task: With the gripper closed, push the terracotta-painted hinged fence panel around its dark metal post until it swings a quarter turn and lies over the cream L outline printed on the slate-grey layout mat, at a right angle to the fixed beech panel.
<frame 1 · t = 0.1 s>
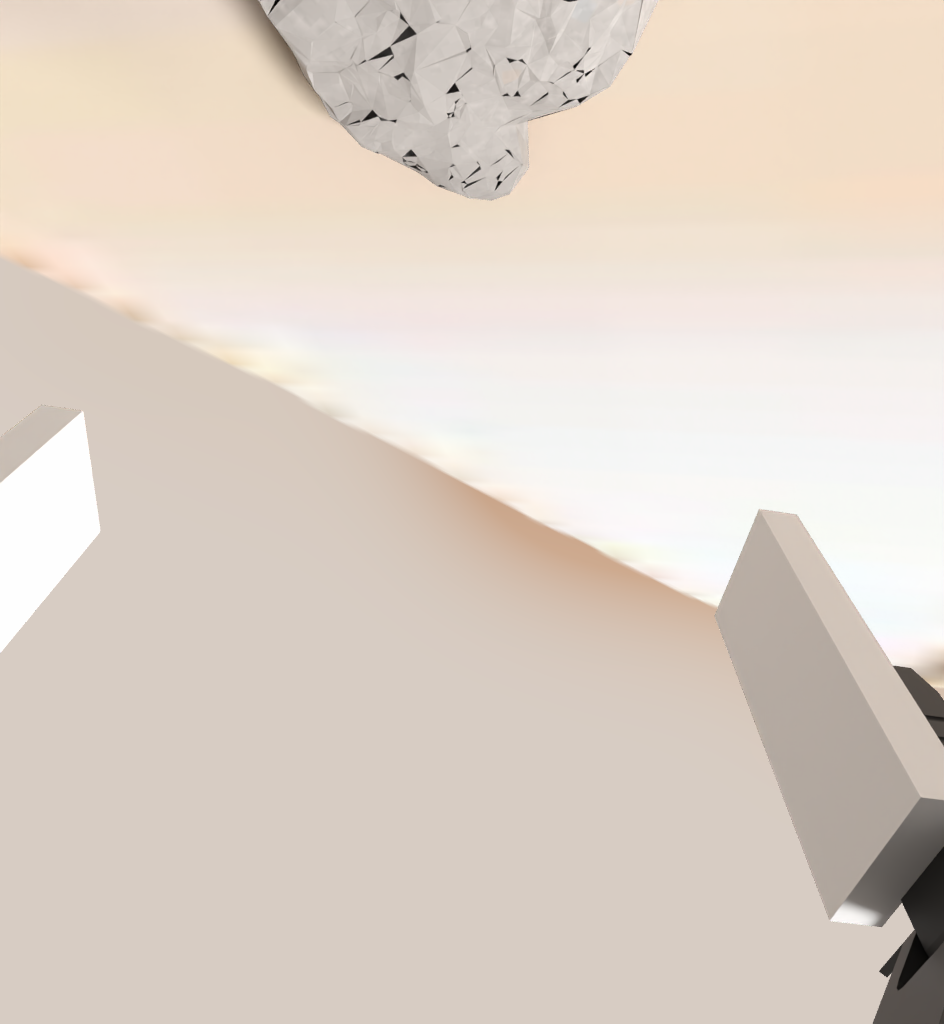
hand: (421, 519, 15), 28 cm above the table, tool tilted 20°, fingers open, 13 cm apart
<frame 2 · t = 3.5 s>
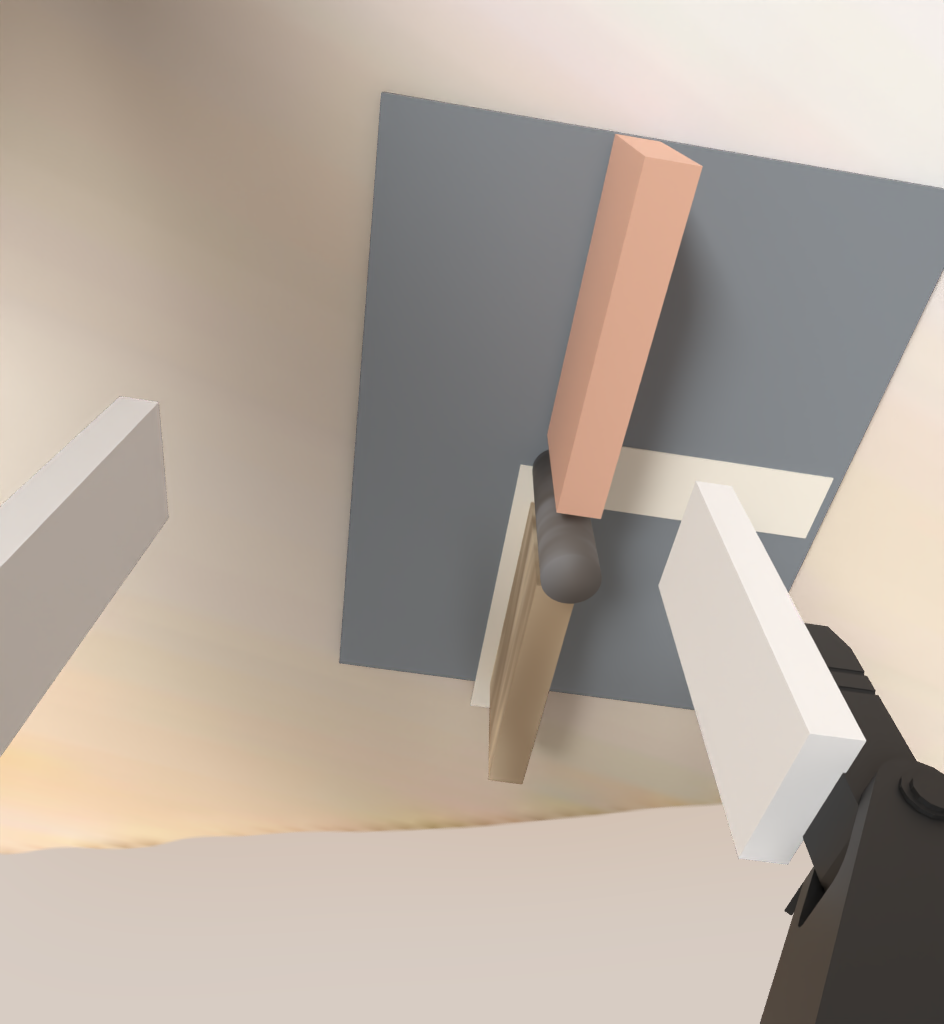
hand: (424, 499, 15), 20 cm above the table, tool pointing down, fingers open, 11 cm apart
hinged panel: (607, 329, 29), point 5 cm above the table, hinge at 0.0°
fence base: (555, 463, 37), resting on layout card
layout card: (594, 469, 38), on the table
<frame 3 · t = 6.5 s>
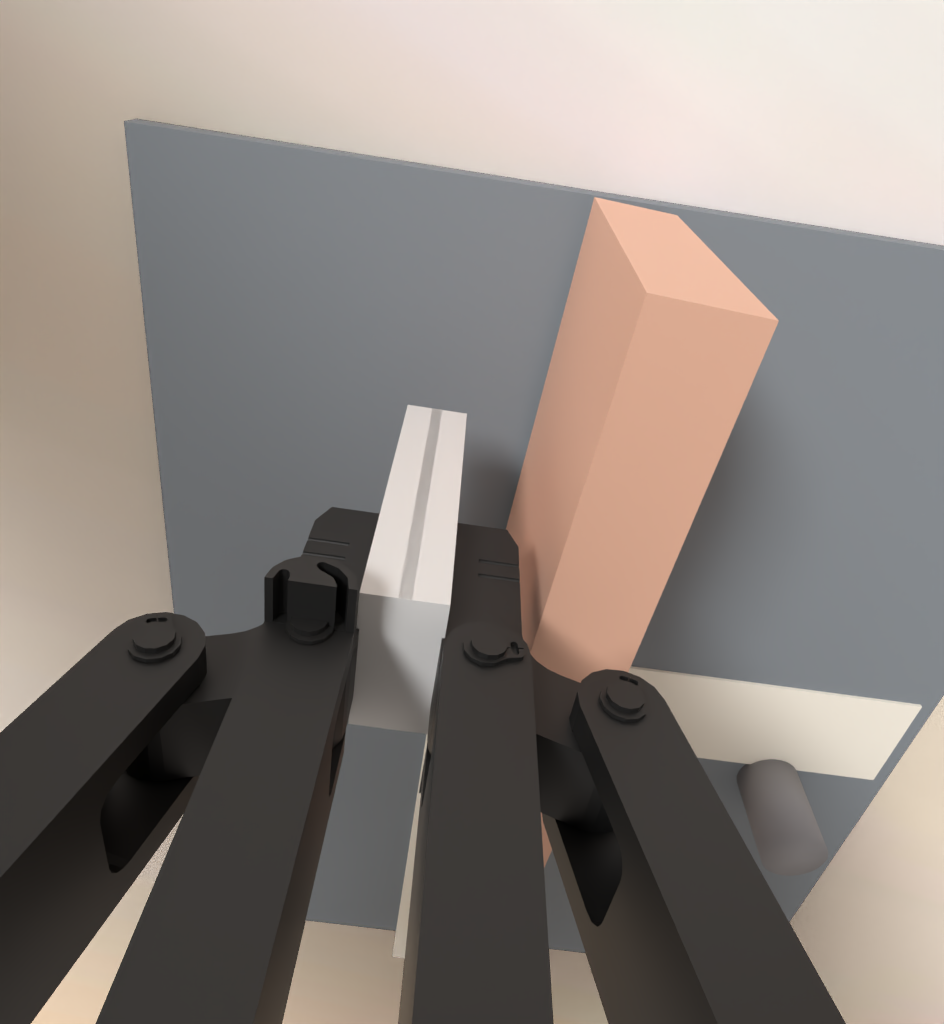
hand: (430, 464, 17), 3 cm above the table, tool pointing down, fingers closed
hinged panel: (566, 549, 16), point 5 cm above the table, hinge at 3.3°, touching gripper
layout card: (550, 684, 25), on the table
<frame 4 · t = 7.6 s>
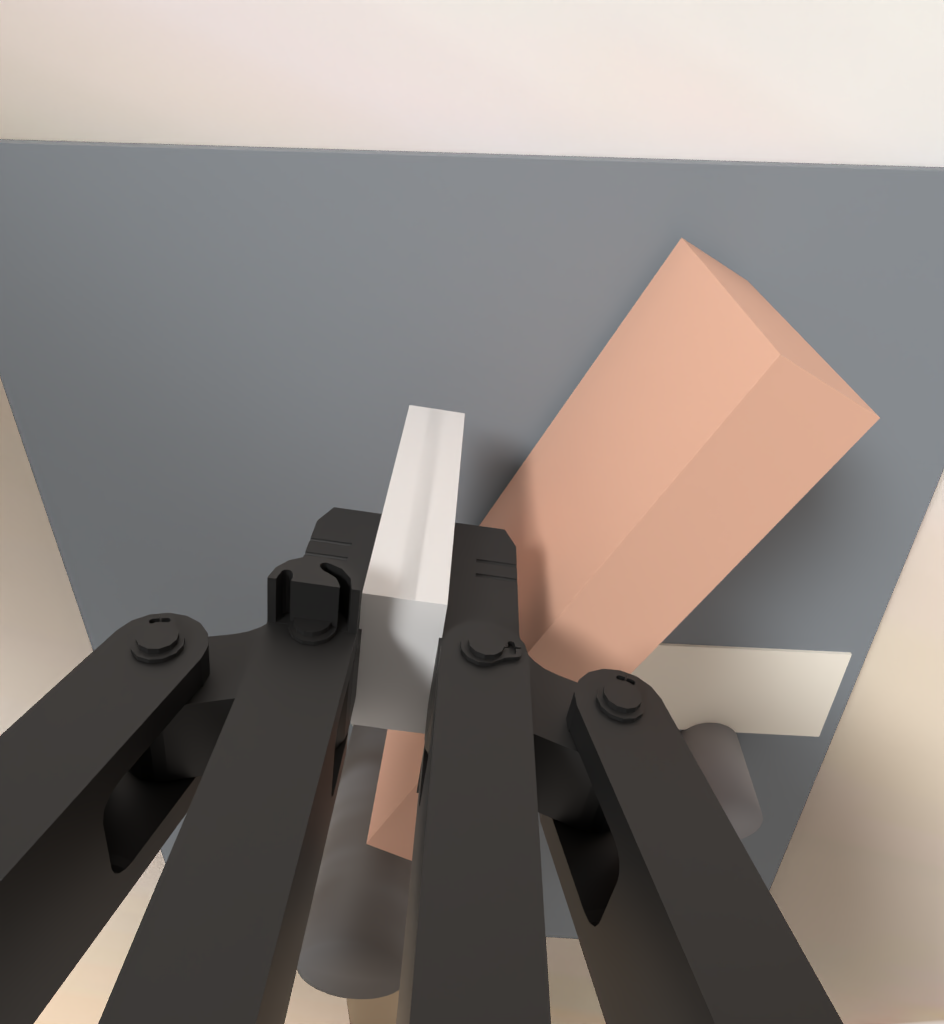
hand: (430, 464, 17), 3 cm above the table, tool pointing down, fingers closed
hinged panel: (556, 562, 16), point 4 cm above the table, hinge at 28.6°, touching gripper
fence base: (406, 659, 24), resting on layout card
layout card: (467, 663, 24), on the table
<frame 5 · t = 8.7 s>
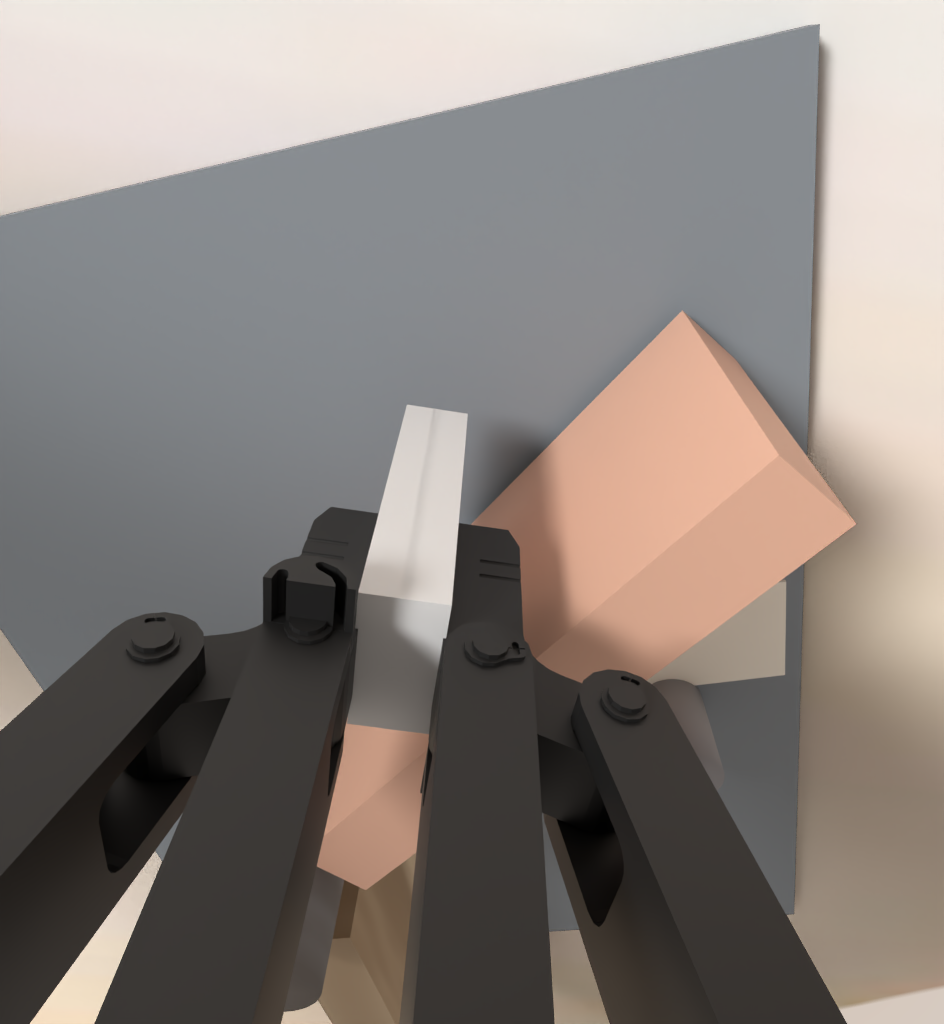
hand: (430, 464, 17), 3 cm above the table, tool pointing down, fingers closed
hinged panel: (523, 602, 17), point 4 cm above the table, hinge at 51.0°, touching gripper
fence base: (348, 669, 24), resting on layout card
layout card: (407, 662, 24), on the table
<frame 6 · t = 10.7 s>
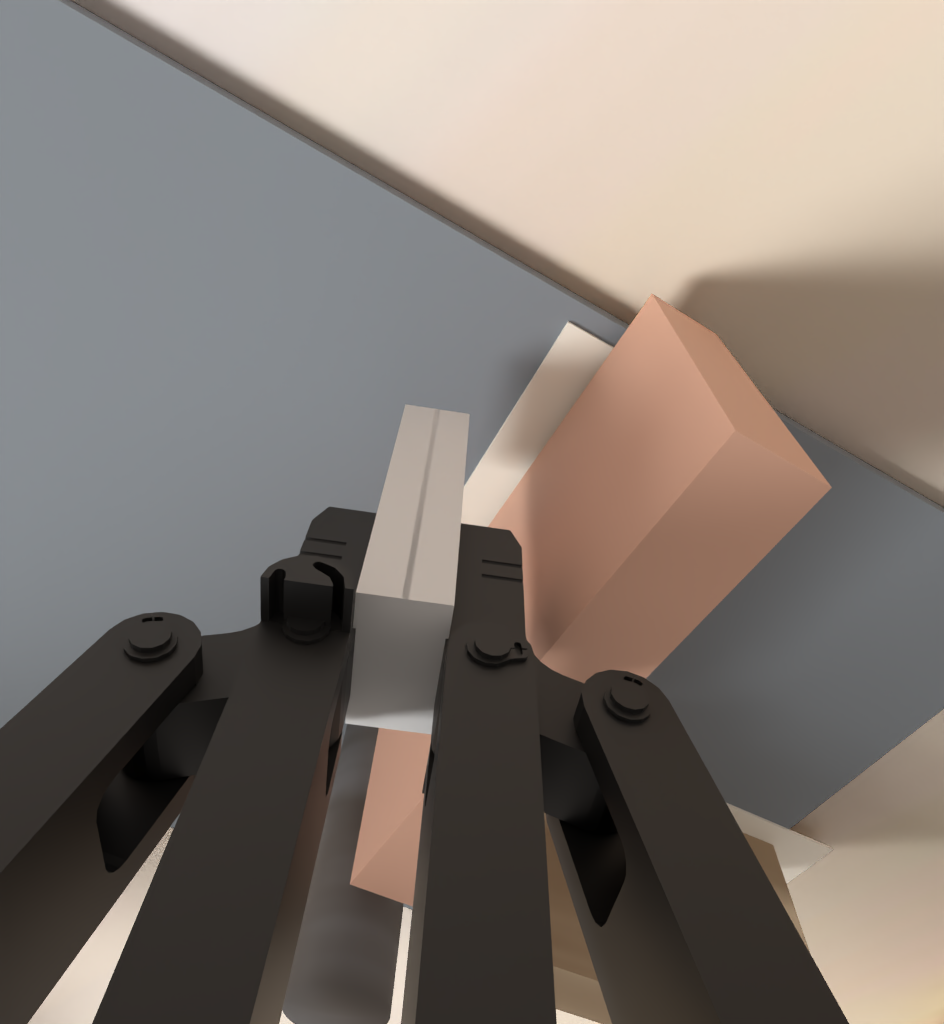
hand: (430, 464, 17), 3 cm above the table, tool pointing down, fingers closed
hinged panel: (534, 607, 17), point 4 cm above the table, hinge at 91.1°, touching gripper
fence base: (391, 692, 25), resting on layout card
layout card: (418, 653, 24), on the table
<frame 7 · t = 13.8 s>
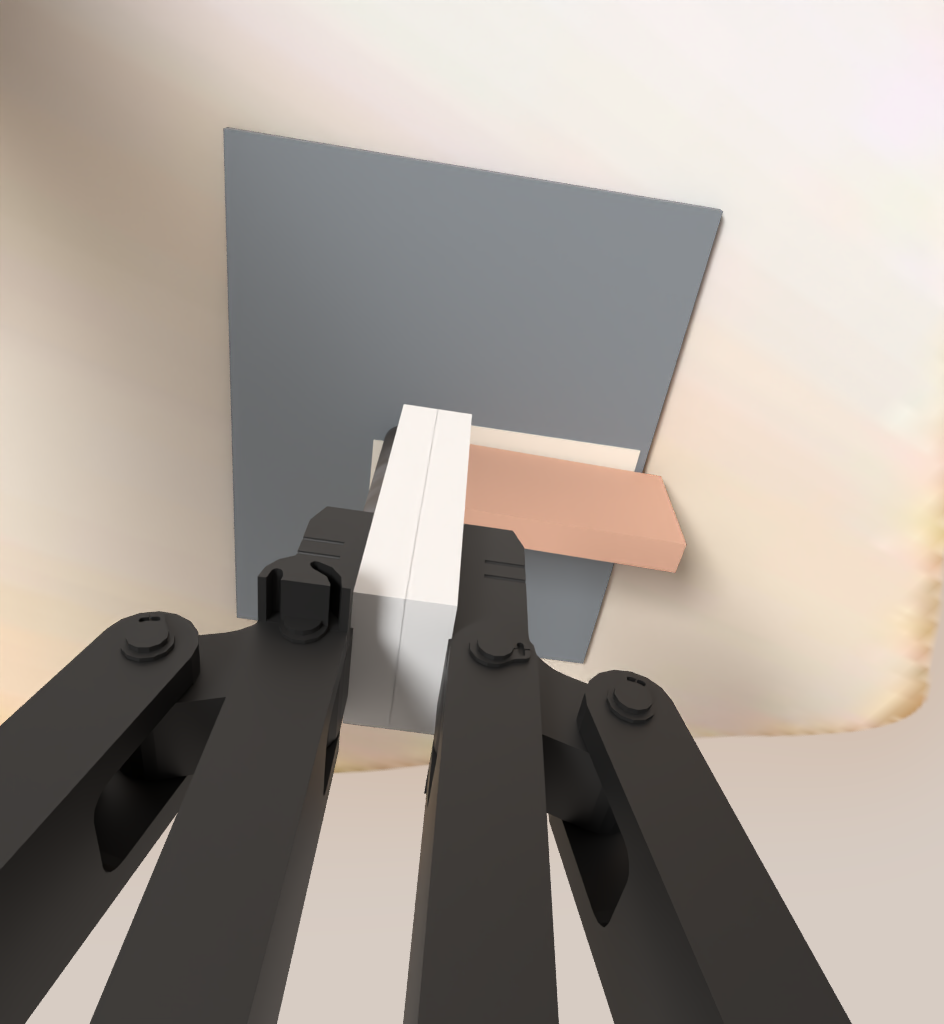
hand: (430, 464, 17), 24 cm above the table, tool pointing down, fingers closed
hinged panel: (551, 502, 40), point 5 cm above the table, hinge at 91.4°
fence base: (405, 439, 44), resting on layout card
layout card: (439, 444, 44), on the table
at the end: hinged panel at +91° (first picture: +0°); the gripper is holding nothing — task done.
